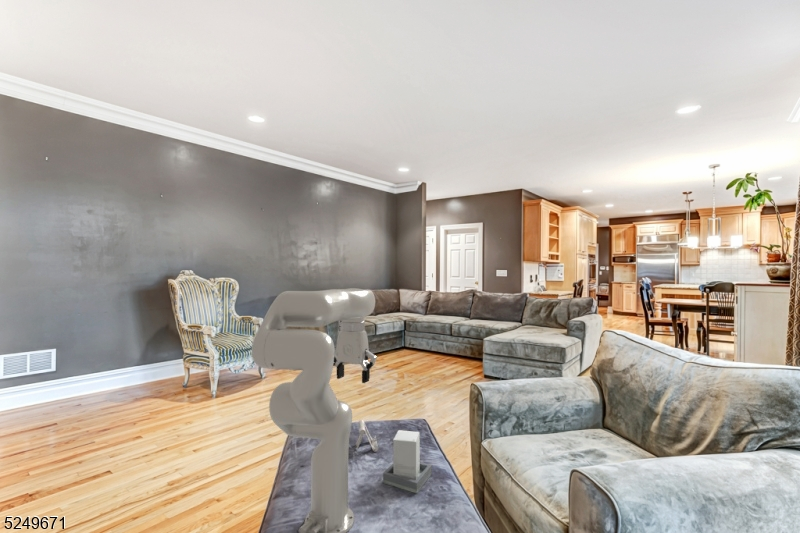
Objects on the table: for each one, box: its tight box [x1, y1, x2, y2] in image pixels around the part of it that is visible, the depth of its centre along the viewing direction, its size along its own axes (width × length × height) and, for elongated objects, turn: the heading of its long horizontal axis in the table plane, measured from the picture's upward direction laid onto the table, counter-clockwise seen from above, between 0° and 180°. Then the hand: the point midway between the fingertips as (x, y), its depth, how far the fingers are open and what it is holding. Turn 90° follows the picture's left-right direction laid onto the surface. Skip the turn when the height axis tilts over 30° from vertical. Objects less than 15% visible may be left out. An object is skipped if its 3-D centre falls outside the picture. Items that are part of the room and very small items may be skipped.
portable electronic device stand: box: [355, 419, 379, 452], centre depth 140 cm, size 9×8×8 cm
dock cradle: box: [382, 461, 433, 494], centre depth 119 cm, size 12×12×3 cm
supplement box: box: [392, 429, 421, 480], centre depth 119 cm, size 7×7×13 cm
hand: (352, 379), depth 122 cm, fingers open, 9 cm apart
